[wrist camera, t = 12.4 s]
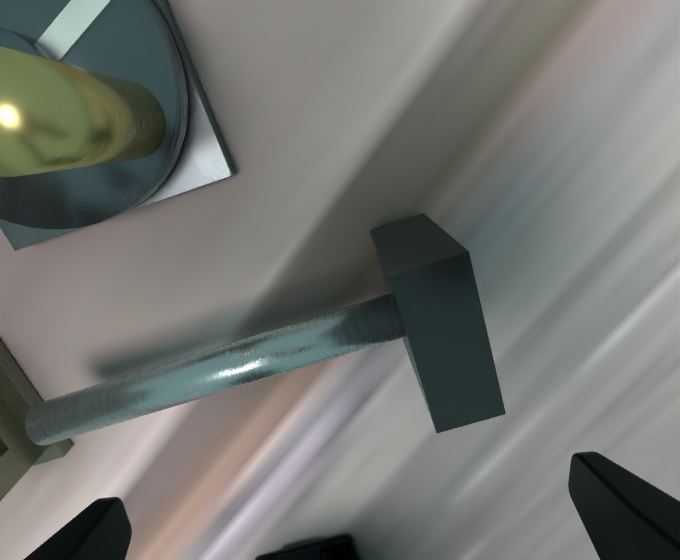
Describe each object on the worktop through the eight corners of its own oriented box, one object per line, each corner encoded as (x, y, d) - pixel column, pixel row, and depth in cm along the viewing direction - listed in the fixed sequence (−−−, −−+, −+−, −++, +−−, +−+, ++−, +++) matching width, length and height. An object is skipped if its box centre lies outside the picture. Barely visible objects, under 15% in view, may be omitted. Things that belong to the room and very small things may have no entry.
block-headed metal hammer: (454, 332, 20) (505, 413, 14) (107, 436, 21) (26, 548, 15) (423, 213, 18) (468, 251, 12) (43, 337, 19) (-78, 423, 13)
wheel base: (236, 173, 18) (231, 175, 17) (30, 244, 19) (14, 250, 18) (124, -105, 14) (110, -122, 14) (-120, -3, 15) (-149, -12, 14)
